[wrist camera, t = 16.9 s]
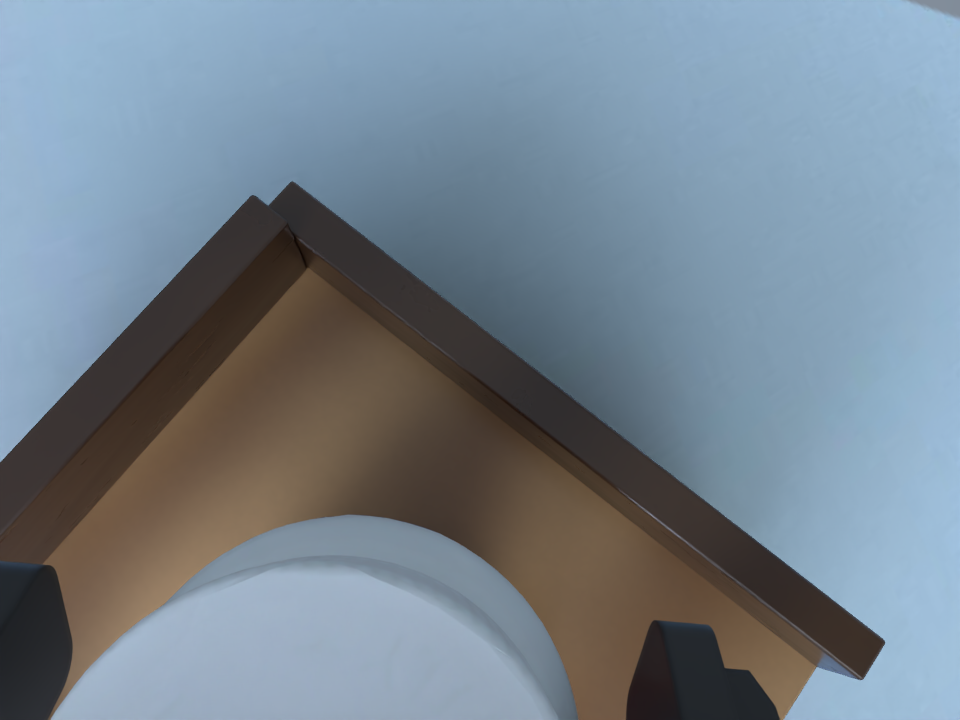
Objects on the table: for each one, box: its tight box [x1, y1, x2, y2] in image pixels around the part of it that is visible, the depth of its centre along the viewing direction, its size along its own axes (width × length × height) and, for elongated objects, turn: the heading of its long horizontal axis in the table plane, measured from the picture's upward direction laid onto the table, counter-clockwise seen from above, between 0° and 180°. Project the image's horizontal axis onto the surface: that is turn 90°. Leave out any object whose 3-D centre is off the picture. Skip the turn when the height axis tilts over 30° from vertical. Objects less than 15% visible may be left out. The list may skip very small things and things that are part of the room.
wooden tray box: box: [0, 182, 885, 720], centre depth 21 cm, size 16×14×12 cm
